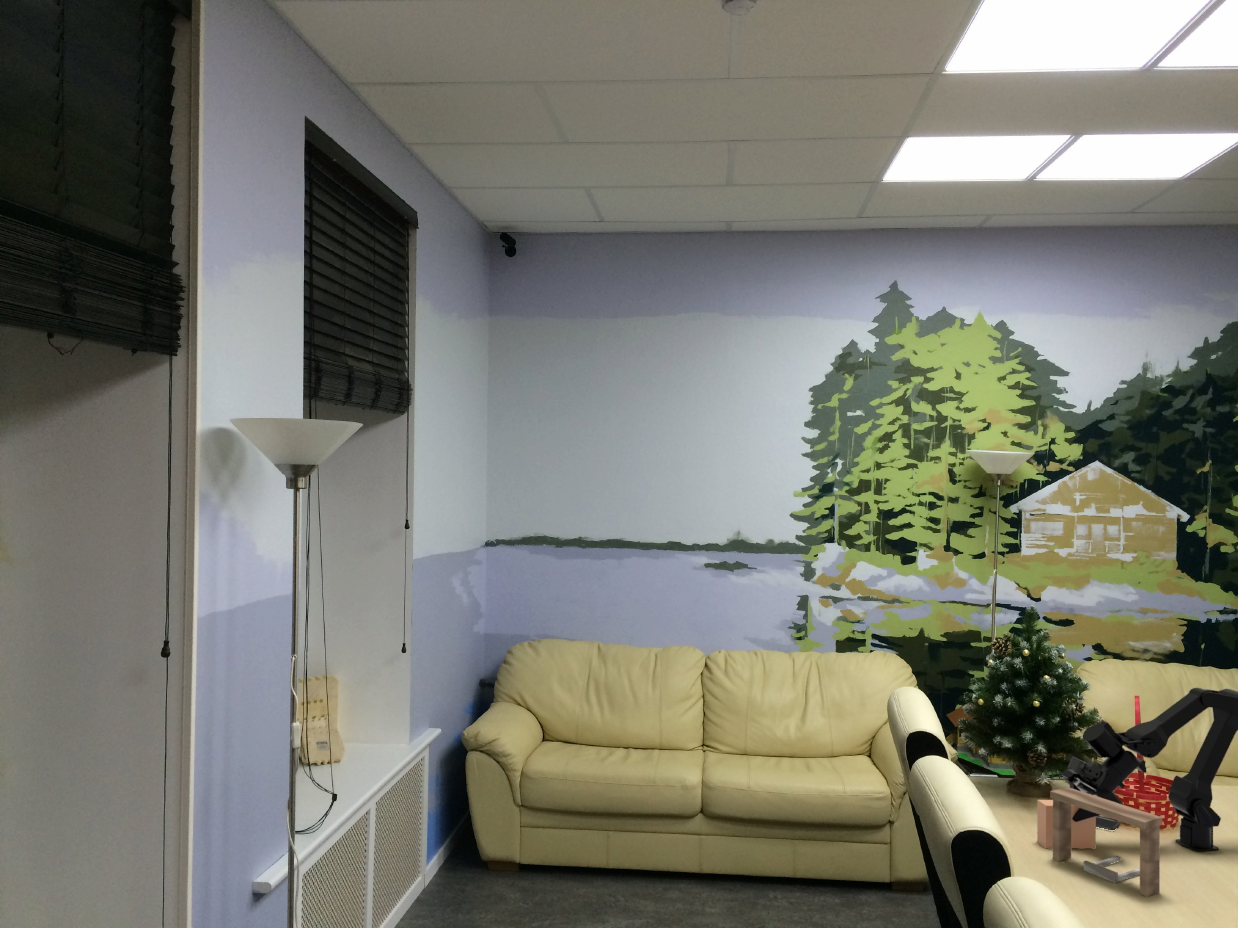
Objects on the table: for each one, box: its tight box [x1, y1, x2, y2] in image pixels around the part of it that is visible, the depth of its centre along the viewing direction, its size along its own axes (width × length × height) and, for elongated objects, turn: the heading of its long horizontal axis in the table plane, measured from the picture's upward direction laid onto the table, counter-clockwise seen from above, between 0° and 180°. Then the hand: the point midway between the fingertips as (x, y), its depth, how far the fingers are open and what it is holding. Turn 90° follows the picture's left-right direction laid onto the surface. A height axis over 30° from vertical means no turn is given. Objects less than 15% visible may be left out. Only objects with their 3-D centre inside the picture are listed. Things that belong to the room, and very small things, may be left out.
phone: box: [1096, 815, 1122, 831], centre depth 229 cm, size 8×1×15 cm
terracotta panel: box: [1036, 799, 1097, 850], centre depth 212 cm, size 12×4×10 cm, turn 92°
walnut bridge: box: [1049, 786, 1163, 898], centre depth 197 cm, size 14×22×16 cm, turn 29°
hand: (1068, 816), depth 212 cm, fingers closed on terracotta panel, 4 cm apart
